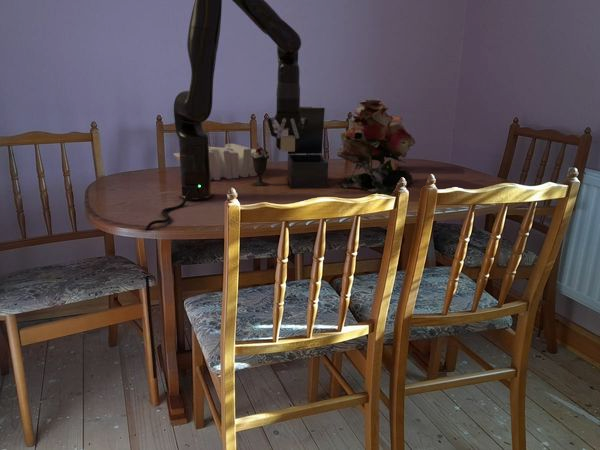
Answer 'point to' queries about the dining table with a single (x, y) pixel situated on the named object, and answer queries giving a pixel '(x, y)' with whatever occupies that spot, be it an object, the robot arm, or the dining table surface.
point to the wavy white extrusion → (229, 161)
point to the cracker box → (394, 162)
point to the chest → (307, 171)
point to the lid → (310, 131)
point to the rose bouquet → (375, 148)
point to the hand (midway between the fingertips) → (287, 149)
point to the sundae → (260, 164)
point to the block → (288, 143)
